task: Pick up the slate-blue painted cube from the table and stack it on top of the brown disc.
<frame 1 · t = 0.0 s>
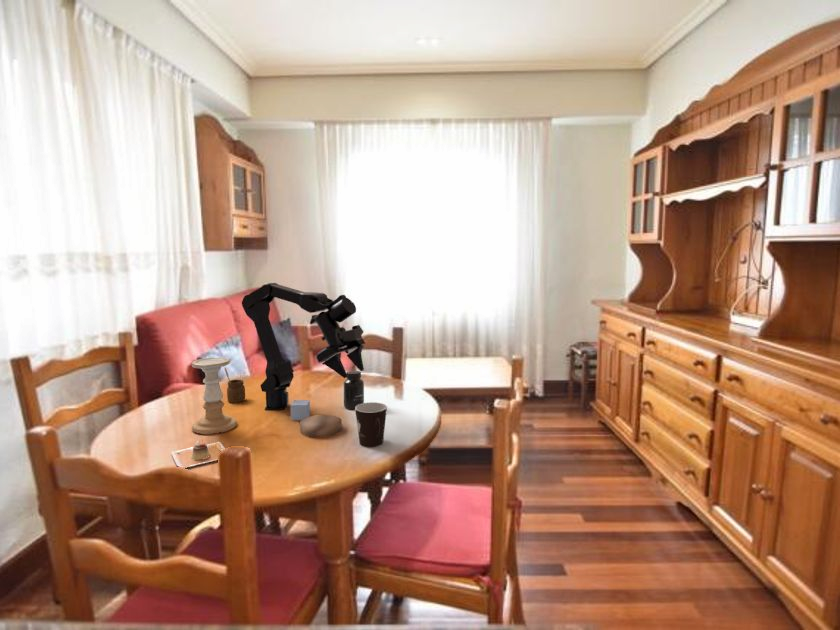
hand: (354, 373, 145), 15 cm above the table, tool tilted 35°, fingers open, 9 cm apart
dessert: (200, 459, 121), on the table
blue cube: (300, 417, 150), on the table
candle holder: (214, 427, 142), on the table
supplement bottle: (354, 407, 161), on the table
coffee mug: (370, 445, 129), on the table
brown disc: (321, 429, 140), on the table
utensil holder: (236, 401, 167), on the table
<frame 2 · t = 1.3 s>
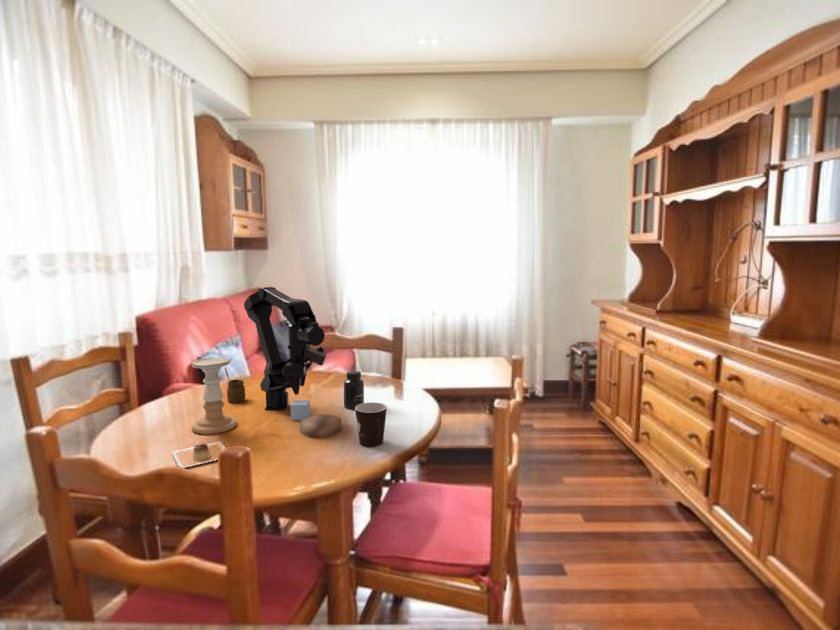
hand: (299, 390, 149), 9 cm above the table, tool pointing down, fingers open, 9 cm apart
nothing on the table moved.
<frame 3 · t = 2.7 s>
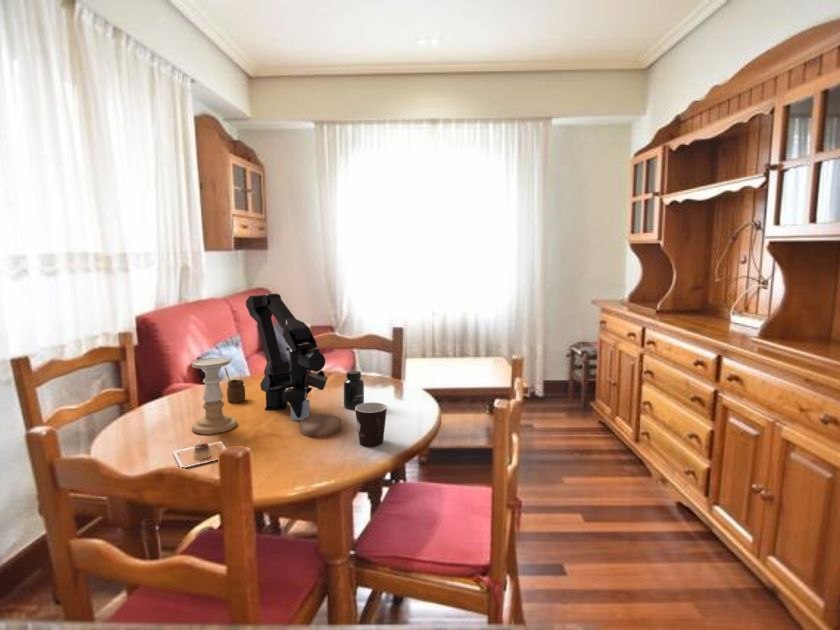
hand: (300, 414, 150), 1 cm above the table, tool pointing down, fingers closed on blue cube, 5 cm apart
blue cube: (300, 417, 150), on the table, touching gripper
everything else where it was.
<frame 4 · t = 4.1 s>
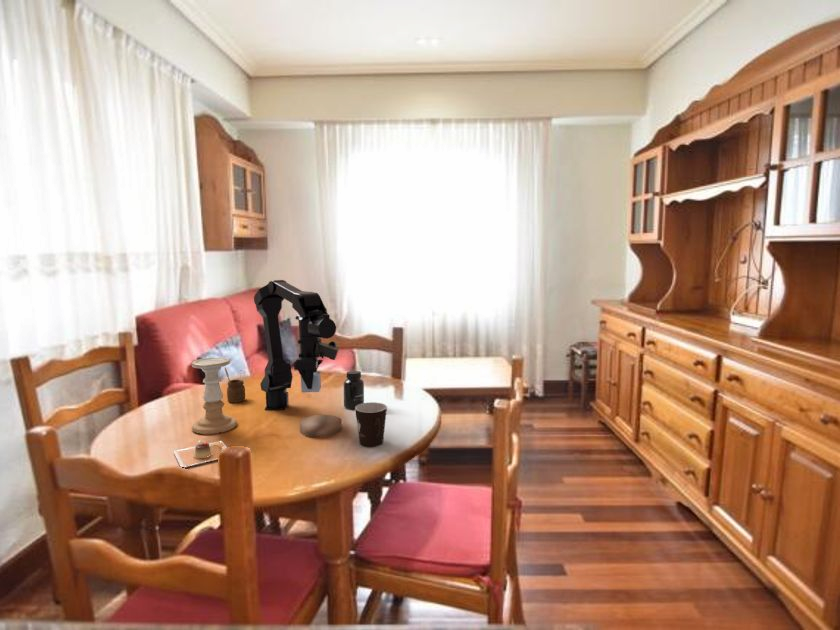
hand: (311, 386, 143), 12 cm above the table, tool pointing down, fingers closed on blue cube, 5 cm apart
blue cube: (311, 390, 143), point 11 cm above the table, touching gripper
everything else where it was.
when the fingers open (4 cm above the table, at t = 6.0 s): blue cube stays where it is, resting on brown disc.
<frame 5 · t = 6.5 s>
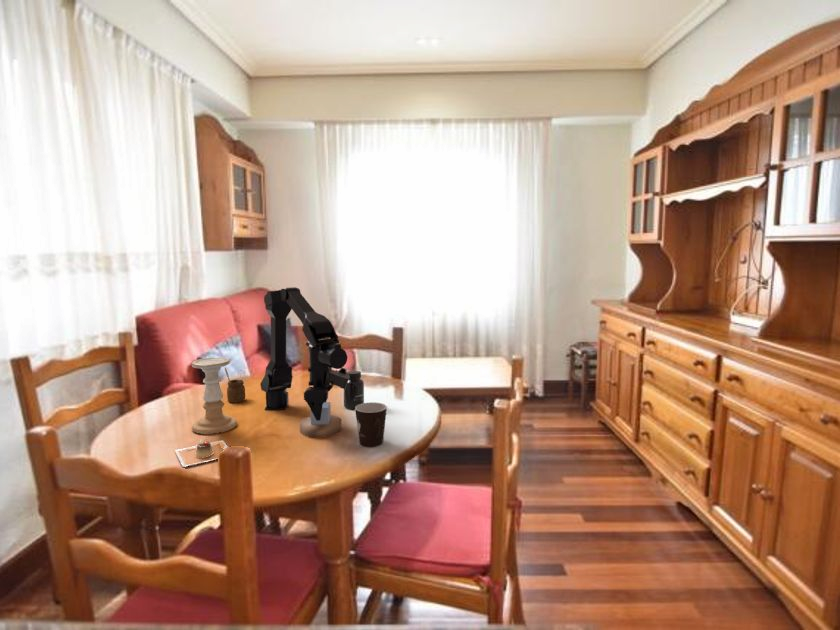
hand: (320, 414, 139), 4 cm above the table, tool pointing down, fingers open, 9 cm apart
blue cube: (321, 421, 139), point 2 cm above the table, touching brown disc
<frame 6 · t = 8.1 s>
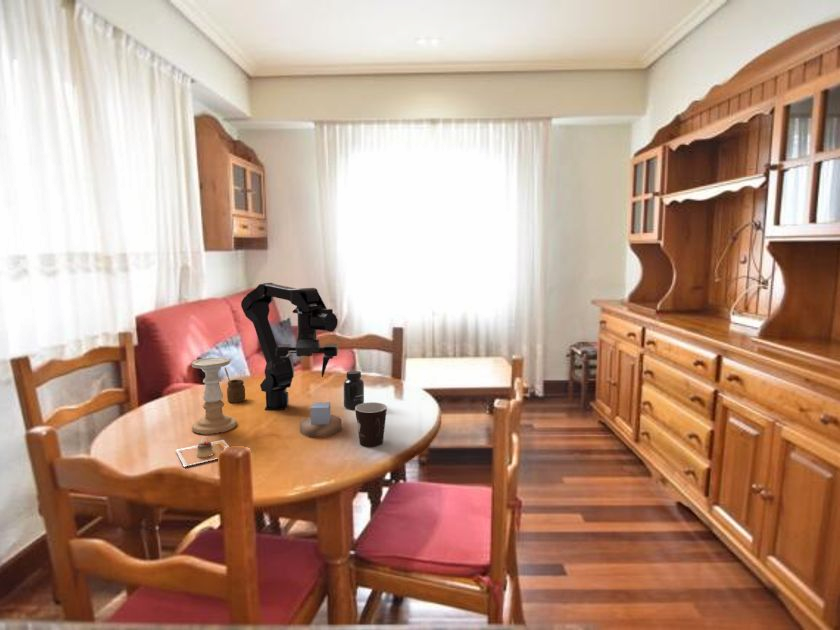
hand: (307, 376, 150), 13 cm above the table, tool pointing down, fingers open, 9 cm apart
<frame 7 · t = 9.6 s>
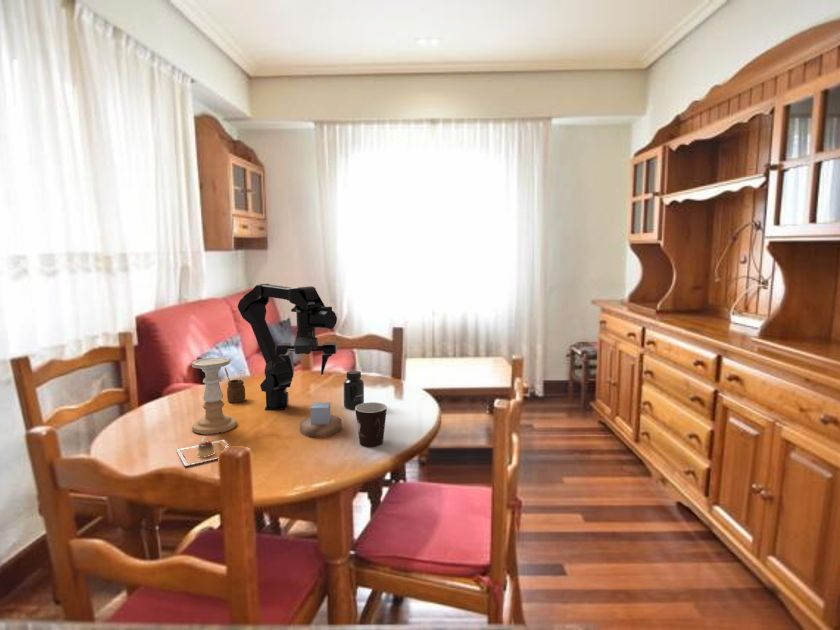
hand: (307, 374, 151), 13 cm above the table, tool pointing down, fingers open, 9 cm apart
at the end: blue cube inside the target area on the brown disc (0.0 cm from its centre), point 2.5 cm above the brown disc's base; blue cube tilted 0°; the gripper is holding nothing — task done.
